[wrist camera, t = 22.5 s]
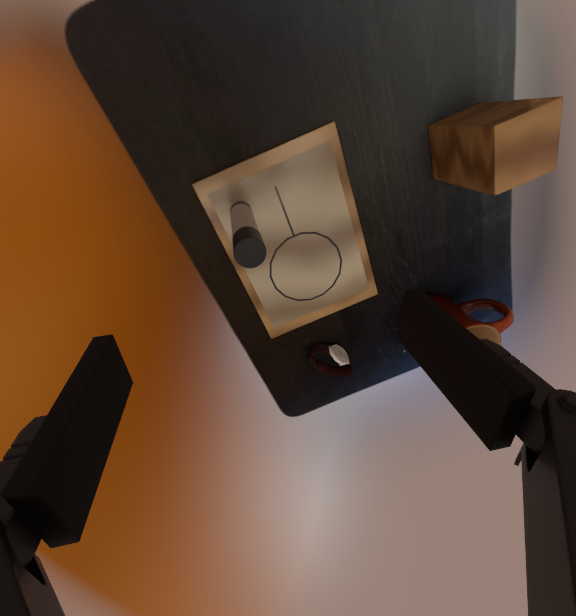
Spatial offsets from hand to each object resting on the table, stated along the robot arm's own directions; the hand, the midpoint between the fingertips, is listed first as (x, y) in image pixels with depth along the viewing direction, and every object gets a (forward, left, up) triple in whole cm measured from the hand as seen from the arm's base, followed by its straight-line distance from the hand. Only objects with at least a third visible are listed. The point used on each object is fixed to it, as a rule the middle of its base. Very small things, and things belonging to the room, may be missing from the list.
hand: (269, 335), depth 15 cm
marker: (0, 0, -24) cm, 24 cm away
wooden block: (-5, +25, -25) cm, 36 cm away
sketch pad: (+5, +6, -25) cm, 26 cm away
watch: (+23, +10, -25) cm, 35 cm away
